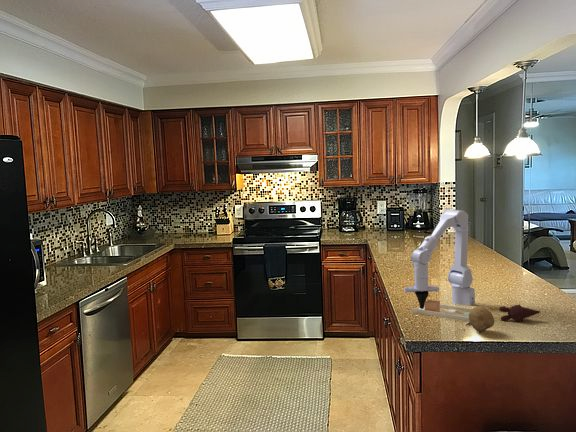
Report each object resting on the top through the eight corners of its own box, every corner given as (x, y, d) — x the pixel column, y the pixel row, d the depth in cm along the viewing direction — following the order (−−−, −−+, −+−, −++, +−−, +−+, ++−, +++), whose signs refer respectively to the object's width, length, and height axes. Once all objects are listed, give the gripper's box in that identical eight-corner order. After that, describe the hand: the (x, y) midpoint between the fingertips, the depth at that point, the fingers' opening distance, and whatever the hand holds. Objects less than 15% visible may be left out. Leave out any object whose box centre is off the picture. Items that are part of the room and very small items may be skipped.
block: (440, 311, 207) (439, 301, 207) (436, 314, 203) (436, 304, 202) (428, 309, 210) (428, 299, 209) (424, 312, 206) (424, 302, 205)
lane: (483, 317, 201) (483, 309, 201) (472, 325, 191) (471, 317, 191) (425, 307, 218) (424, 300, 218) (411, 315, 208) (411, 307, 208)
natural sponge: (488, 327, 188) (487, 302, 187) (498, 335, 180) (498, 309, 179) (465, 329, 188) (464, 304, 187) (474, 336, 179) (474, 310, 178)
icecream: (536, 302, 197) (497, 305, 200) (540, 303, 190) (499, 305, 193) (539, 320, 196) (499, 322, 199) (543, 321, 188) (502, 323, 192)
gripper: (436, 274, 211) (436, 305, 213) (402, 275, 212) (403, 305, 214) (440, 278, 204) (440, 309, 206) (405, 279, 205) (406, 310, 207)
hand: (421, 308), depth 209 cm, fingers closed
